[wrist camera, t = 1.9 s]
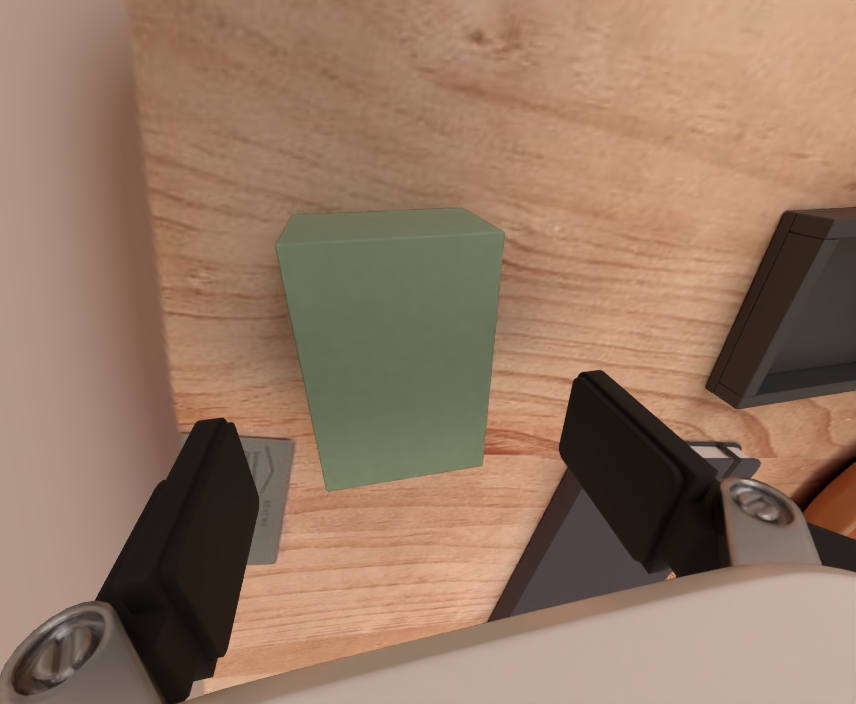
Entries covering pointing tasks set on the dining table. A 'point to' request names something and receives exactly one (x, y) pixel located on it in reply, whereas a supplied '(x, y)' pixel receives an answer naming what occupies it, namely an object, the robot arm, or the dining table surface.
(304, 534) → the dining table surface
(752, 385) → the tray
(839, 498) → the saucer
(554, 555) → the notebook
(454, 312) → the pad
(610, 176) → the dining table surface
